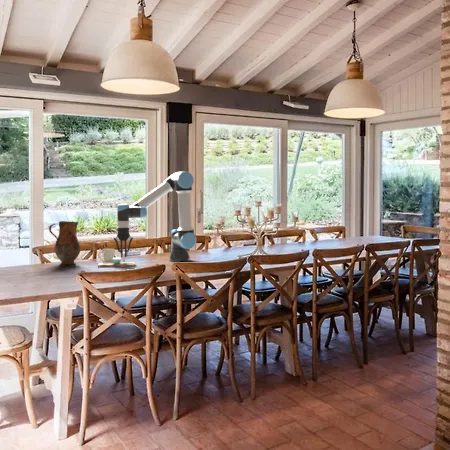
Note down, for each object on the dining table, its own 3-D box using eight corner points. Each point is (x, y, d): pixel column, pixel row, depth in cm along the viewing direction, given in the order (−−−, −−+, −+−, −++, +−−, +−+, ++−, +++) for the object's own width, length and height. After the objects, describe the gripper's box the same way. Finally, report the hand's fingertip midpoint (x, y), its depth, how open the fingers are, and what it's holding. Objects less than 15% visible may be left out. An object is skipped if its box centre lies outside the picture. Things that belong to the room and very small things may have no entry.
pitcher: (85, 264, 348) (84, 221, 345) (55, 268, 333) (54, 223, 331) (73, 262, 360) (72, 220, 357) (44, 265, 345) (43, 221, 342)
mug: (111, 264, 351) (111, 250, 350) (95, 263, 353) (94, 249, 352) (116, 262, 359) (116, 248, 358) (100, 262, 361) (100, 248, 360)
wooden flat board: (135, 265, 344) (135, 262, 344) (134, 268, 336) (134, 264, 336) (99, 266, 341) (99, 262, 341) (97, 268, 332) (97, 264, 332)
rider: (120, 265, 342) (120, 257, 341) (120, 266, 336) (120, 259, 335) (113, 265, 341) (113, 257, 340) (112, 266, 335) (112, 259, 335)
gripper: (133, 226, 341) (134, 261, 343) (113, 226, 340) (114, 261, 342) (132, 227, 334) (133, 262, 336) (112, 227, 332) (113, 263, 334)
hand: (123, 262), depth 339 cm, fingers closed
